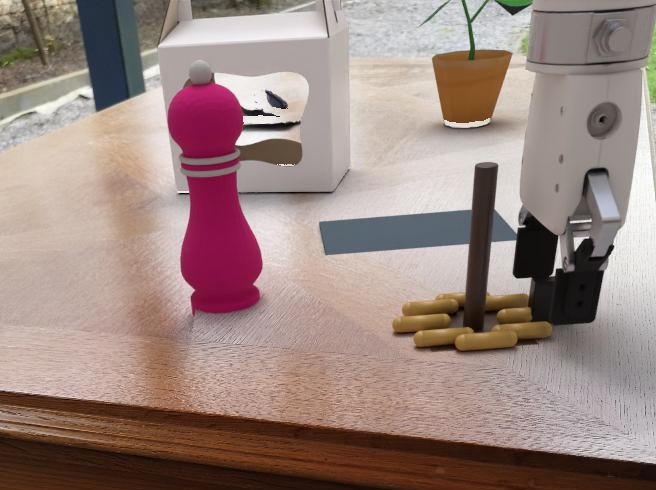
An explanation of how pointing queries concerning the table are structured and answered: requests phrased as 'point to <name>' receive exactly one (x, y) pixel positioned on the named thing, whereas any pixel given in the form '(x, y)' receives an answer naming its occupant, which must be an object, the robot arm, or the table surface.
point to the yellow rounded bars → (512, 307)
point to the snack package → (272, 100)
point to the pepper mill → (213, 197)
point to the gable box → (262, 59)
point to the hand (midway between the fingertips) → (550, 298)
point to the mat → (405, 232)
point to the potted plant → (472, 73)
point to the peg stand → (479, 259)
